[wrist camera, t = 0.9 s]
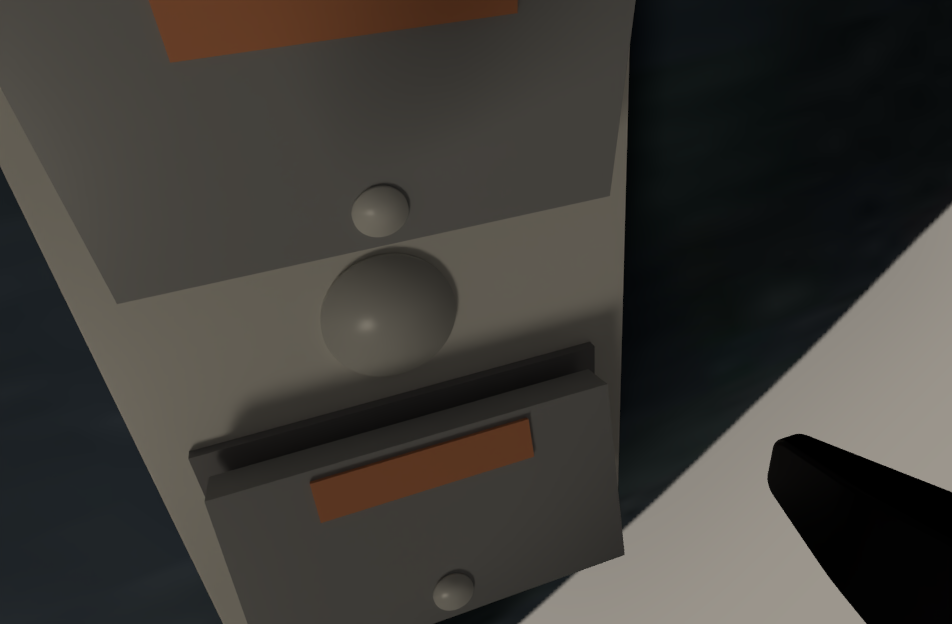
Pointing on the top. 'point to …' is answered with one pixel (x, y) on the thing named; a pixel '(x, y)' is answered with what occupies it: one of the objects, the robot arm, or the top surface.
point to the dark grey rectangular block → (426, 511)
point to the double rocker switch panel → (336, 337)
